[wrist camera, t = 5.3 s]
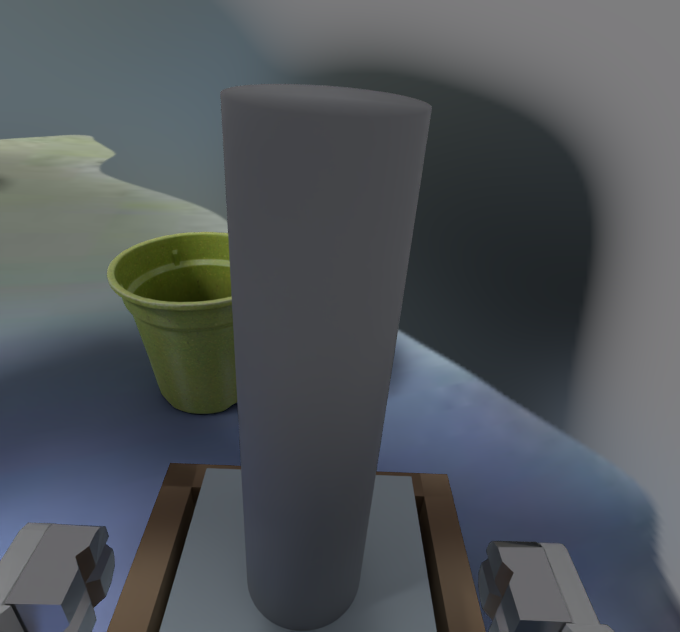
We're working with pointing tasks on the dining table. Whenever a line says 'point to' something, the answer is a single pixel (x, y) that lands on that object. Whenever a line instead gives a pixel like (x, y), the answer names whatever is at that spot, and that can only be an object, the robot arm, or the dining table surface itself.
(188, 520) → the bay
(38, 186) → the dining table surface
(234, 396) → the plant pot
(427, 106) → the gray post
